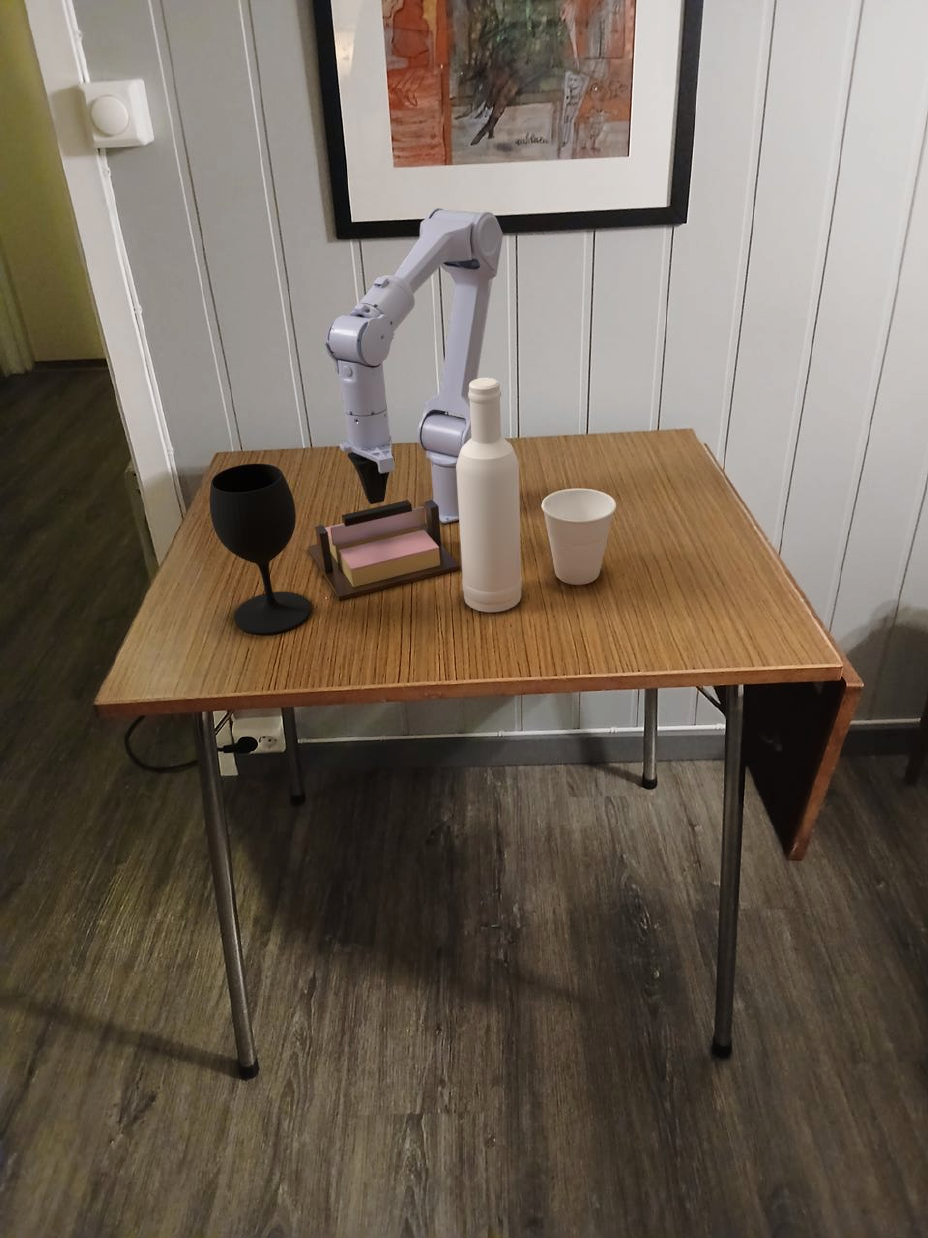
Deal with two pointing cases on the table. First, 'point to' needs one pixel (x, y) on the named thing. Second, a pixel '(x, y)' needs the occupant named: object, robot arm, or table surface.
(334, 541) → the knife
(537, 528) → the table surface
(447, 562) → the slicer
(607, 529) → the cup
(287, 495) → the wine glass
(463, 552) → the bottle
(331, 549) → the pink sponge pad
